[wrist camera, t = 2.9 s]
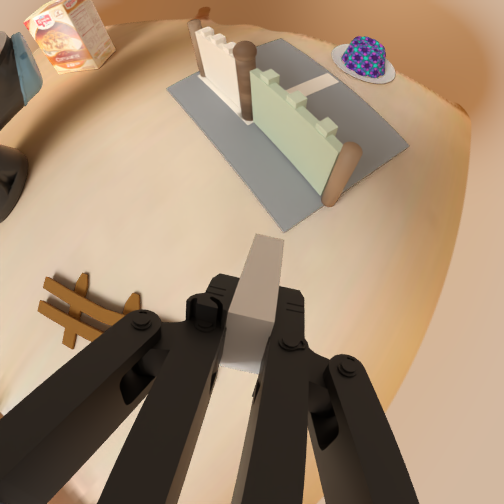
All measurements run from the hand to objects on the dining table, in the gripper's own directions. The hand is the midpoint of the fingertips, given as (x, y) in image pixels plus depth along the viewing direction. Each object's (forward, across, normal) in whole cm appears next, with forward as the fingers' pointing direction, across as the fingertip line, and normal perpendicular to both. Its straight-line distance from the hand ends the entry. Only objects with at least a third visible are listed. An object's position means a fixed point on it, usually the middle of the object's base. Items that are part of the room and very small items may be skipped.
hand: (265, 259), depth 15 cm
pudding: (+38, -10, -22) cm, 45 cm away
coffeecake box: (+38, +48, -18) cm, 64 cm away
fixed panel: (+30, +12, -11) cm, 34 cm away
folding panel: (+22, -1, -3) cm, 22 cm away
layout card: (+28, +2, -10) cm, 30 cm away
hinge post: (+26, +6, -7) cm, 28 cm away
